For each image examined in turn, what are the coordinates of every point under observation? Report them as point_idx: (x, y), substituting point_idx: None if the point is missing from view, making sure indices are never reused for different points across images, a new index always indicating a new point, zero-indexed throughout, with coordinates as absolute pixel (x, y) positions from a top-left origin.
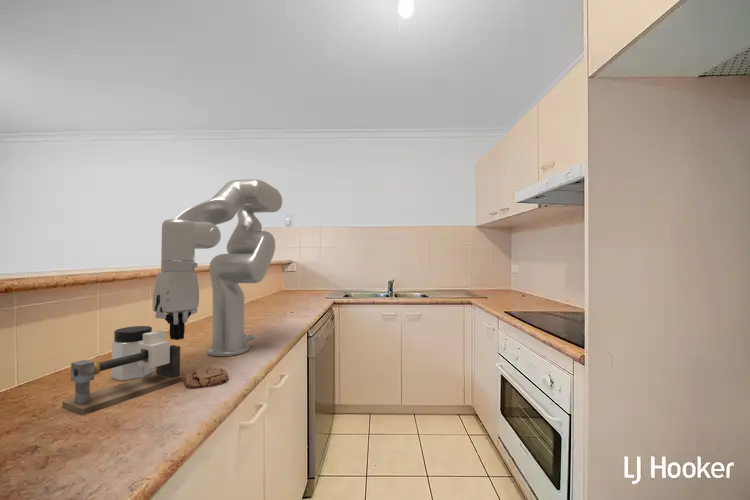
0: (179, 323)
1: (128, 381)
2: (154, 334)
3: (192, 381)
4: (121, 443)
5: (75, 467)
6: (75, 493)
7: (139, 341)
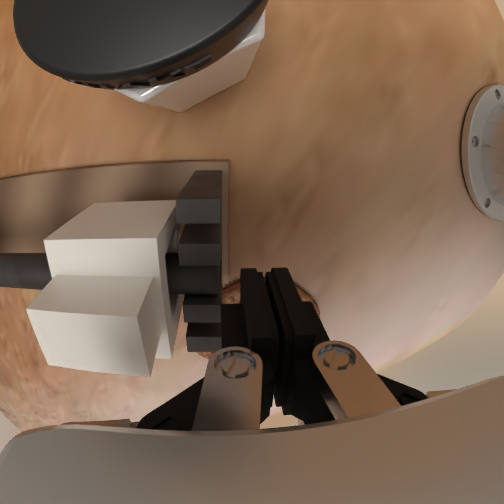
0: (286, 390)
1: (96, 167)
2: (79, 366)
3: (206, 353)
4: (38, 402)
5: (4, 397)
6: (12, 422)
7: (119, 90)
